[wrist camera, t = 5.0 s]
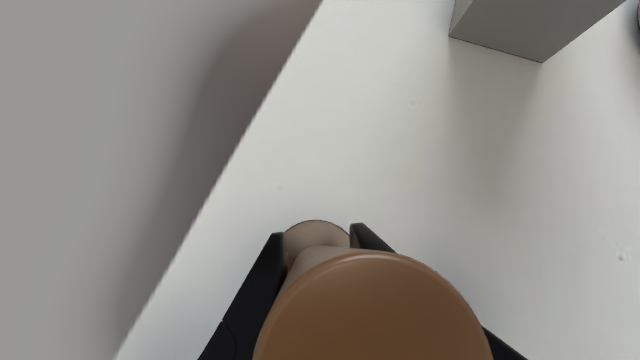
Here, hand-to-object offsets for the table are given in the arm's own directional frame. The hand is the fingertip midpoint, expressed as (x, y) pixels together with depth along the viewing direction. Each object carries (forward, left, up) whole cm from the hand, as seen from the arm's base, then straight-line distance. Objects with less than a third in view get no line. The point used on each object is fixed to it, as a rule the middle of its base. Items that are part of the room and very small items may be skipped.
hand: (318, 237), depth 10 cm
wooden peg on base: (-1, 0, -7) cm, 7 cm away
